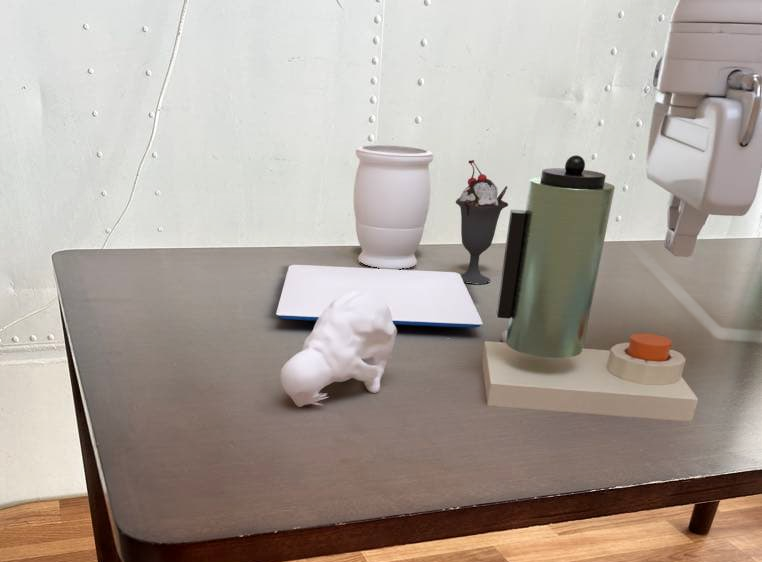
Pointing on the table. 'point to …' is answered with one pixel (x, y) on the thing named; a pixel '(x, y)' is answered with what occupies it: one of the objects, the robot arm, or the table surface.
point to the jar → (391, 204)
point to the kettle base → (589, 383)
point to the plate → (381, 294)
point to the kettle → (554, 260)
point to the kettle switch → (649, 347)
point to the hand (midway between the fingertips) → (677, 253)
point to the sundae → (479, 220)
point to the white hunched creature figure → (342, 347)
